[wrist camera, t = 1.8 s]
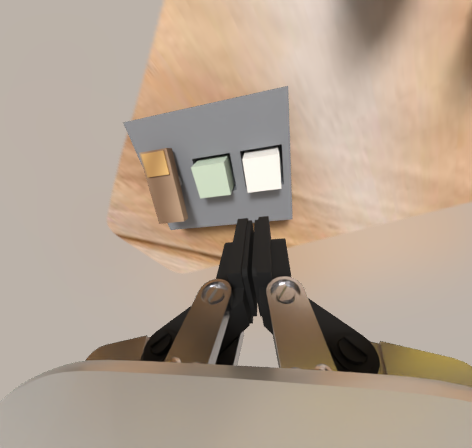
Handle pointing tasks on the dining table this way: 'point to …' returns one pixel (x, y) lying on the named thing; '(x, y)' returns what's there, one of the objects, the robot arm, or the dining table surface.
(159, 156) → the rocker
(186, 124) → the console
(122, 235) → the dining table surface
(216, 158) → the sage button
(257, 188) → the white button
